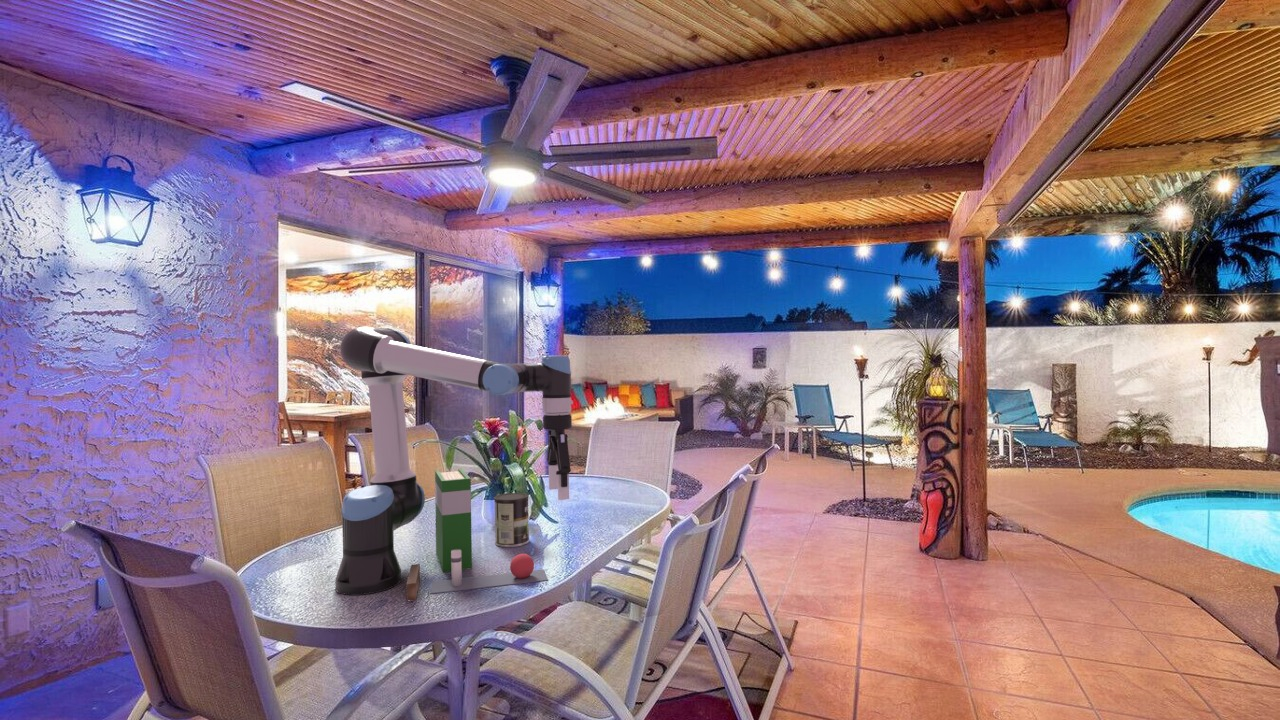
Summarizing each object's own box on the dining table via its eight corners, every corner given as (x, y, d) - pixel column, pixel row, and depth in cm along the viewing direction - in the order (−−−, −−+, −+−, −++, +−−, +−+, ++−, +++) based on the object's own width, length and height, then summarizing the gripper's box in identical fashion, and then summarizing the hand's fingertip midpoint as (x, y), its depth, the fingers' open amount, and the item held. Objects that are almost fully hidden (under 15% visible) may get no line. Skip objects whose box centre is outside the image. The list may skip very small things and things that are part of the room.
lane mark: (430, 594, 145) (430, 593, 145) (431, 582, 153) (431, 581, 153) (548, 580, 153) (548, 579, 153) (543, 570, 161) (543, 569, 161)
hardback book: (436, 553, 176) (435, 470, 176) (462, 549, 179) (461, 468, 179) (442, 572, 160) (441, 481, 160) (471, 568, 163) (470, 478, 163)
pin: (451, 587, 149) (450, 552, 149) (451, 584, 152) (451, 549, 152) (462, 586, 150) (461, 551, 150) (461, 582, 152) (461, 548, 152)
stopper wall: (406, 601, 141) (406, 584, 141) (411, 580, 154) (411, 564, 154) (416, 600, 141) (415, 583, 141) (419, 579, 155) (419, 563, 155)
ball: (511, 583, 152) (510, 559, 152) (509, 575, 157) (509, 551, 157) (535, 580, 153) (535, 556, 153) (532, 572, 159) (532, 549, 159)
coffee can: (528, 536, 192) (527, 491, 192) (530, 545, 182) (529, 498, 182) (494, 539, 190) (493, 493, 190) (494, 548, 180) (494, 501, 180)
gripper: (581, 416, 151) (583, 502, 151) (562, 409, 174) (563, 484, 174) (551, 418, 148) (552, 505, 148) (535, 410, 172) (537, 486, 172)
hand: (558, 494), depth 161 cm, fingers open, 13 cm apart
